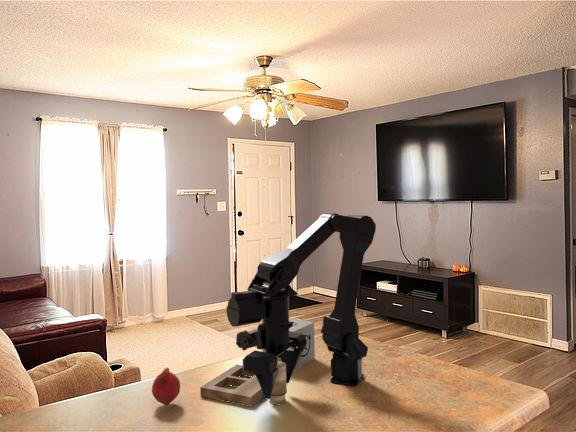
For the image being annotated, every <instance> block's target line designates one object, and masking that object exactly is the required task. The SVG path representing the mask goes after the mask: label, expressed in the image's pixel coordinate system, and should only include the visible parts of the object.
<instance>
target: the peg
mask: <svg viewBox="0 0 576 432" xmlns="http://www.w3.org/2000/svg"><path fill="white" fill-rule="evenodd" d="M276 368H278V372H277V376H276V379H275V383H274V387H273V391H272V394H271V397H270V399H269V403H270V404H271V403H272V404H271V405H274V404H278V405H277V406H279V404H280V405H283V404H284V403H286V394H287V393H288V391H287V383H286V363H284V362H281V361H278V364H277V367H276Z"/></svg>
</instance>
